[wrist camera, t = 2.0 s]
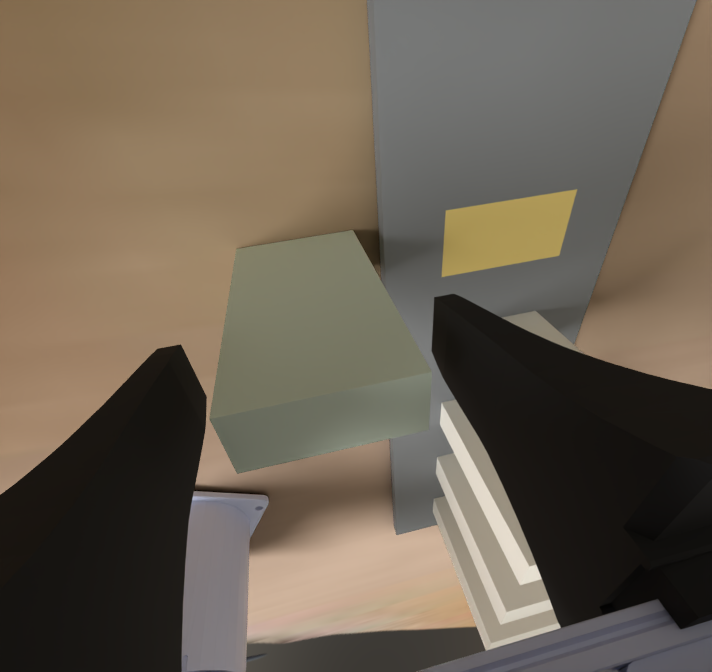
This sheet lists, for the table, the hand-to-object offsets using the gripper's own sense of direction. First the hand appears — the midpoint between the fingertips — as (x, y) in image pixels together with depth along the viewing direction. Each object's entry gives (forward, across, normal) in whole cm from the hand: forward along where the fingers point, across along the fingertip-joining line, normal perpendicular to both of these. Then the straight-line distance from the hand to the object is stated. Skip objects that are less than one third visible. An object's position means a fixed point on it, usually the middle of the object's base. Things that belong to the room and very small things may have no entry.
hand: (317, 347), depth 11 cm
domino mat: (+6, -9, +9) cm, 14 cm away
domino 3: (+5, -9, +17) cm, 20 cm away
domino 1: (+6, 0, 0) cm, 6 cm away
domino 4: (+5, -9, +22) cm, 24 cm away
